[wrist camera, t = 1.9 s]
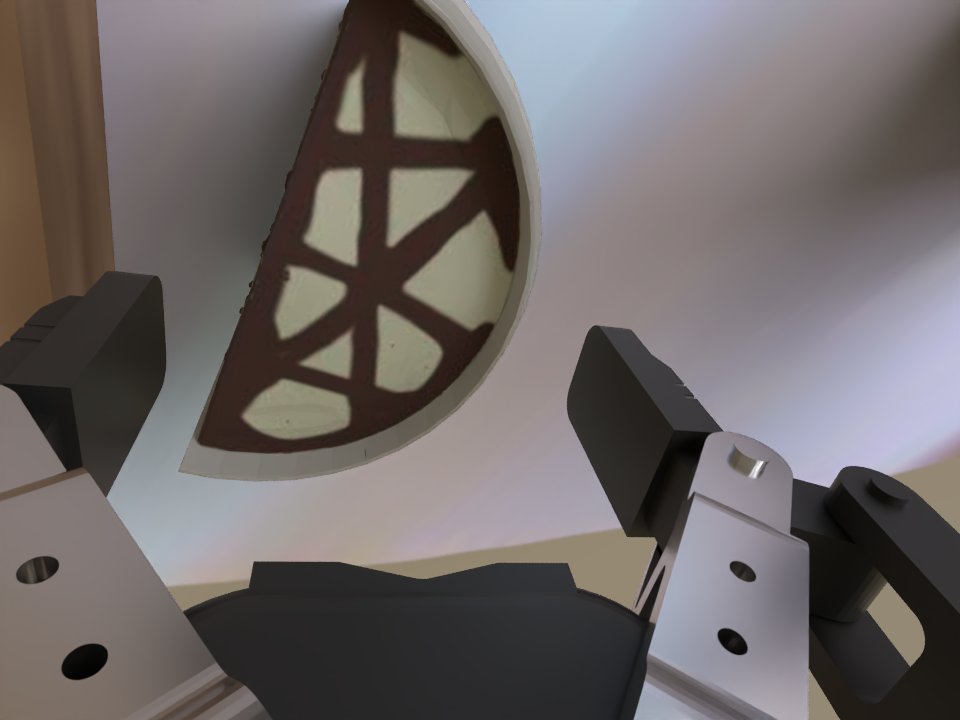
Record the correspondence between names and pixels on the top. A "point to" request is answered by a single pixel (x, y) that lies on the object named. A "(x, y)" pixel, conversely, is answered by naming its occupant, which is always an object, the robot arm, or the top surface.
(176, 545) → the top surface
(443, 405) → the food container
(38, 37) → the walnut block
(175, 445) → the top surface
